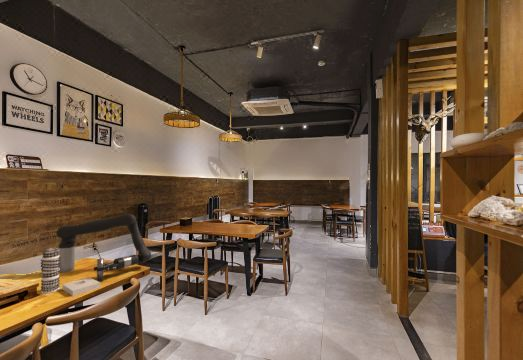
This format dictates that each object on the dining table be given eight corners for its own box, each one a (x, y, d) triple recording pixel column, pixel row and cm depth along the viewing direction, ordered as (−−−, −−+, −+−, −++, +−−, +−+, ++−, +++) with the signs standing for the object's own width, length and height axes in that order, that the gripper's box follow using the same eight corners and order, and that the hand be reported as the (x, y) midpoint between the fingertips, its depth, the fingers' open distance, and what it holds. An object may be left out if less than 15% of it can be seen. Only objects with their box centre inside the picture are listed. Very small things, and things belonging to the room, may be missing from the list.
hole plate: (62, 289, 147) (62, 284, 147) (88, 281, 159) (88, 277, 159) (72, 296, 138) (72, 290, 138) (100, 287, 150) (100, 282, 150)
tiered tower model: (59, 291, 144) (59, 249, 145) (38, 295, 139) (39, 251, 140) (61, 286, 152) (62, 245, 152) (42, 289, 147) (42, 247, 148)
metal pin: (95, 280, 160) (96, 259, 160) (101, 279, 163) (102, 258, 163) (98, 282, 158) (98, 260, 159) (104, 280, 161) (104, 259, 161)
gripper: (117, 255, 177) (90, 261, 162) (127, 258, 169) (100, 265, 155) (117, 266, 177) (90, 273, 162) (127, 269, 169) (100, 277, 154)
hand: (95, 269), depth 159 cm, fingers closed on metal pin, 3 cm apart
